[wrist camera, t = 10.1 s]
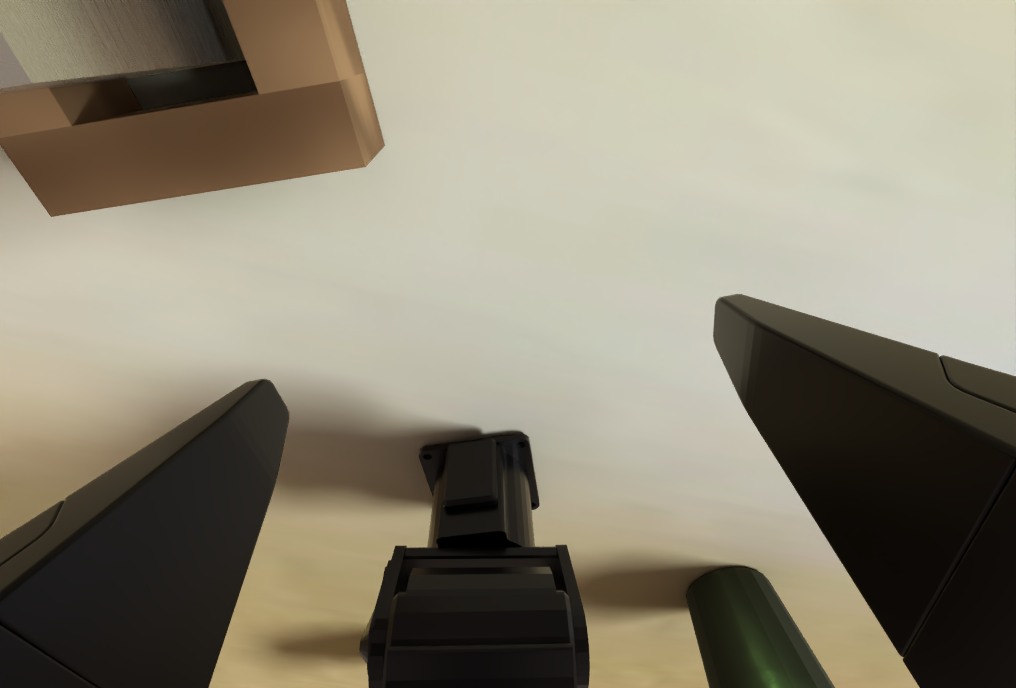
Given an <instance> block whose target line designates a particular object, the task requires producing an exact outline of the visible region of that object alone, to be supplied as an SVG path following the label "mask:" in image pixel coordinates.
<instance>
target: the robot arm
mask: <svg viewBox="0 0 1016 688" xmlns="http://www.w3.org/2000/svg"><path fill="white" fill-rule="evenodd" d="M713 337H714V343H715V346H716V348H717V351H718V353H719V355H720V357H721V359H722V361H723V363H724V366H725V368H726V370H727V372H728V374H729V376H730V378H731V381H732V383H733V385H734V387H735V389H736V391H737V394H738V396H739V398H740V400H741V402H742V404H743V406H744V408H745V410H746V411H747V413H748V415H749V416H750V418H751V420H752V421H753V423H754V424H755V426H756V428H757V429H758V431H759V432H760V434H761V436H762V437H763V439H764V440H765V442H766V443H767V445H768V447H769V448H770V450H771V451H772V453H773V455H774V456H775V458H776V459H777V461H778V463H779V464H780V466H781V467H782V469H783V470H784V472H785V474H786V475H787V477H788V478H789V480H790V482H791V483H792V485H793V486H794V488H795V490H796V491H797V493H798V494H799V496H800V497H801V499H802V501H803V502H804V504H805V505H806V507H807V509H808V510H809V512H810V513H811V515H812V517H813V518H814V520H815V521H816V523H817V524H818V526H819V528H820V529H821V531H822V532H823V534H824V536H825V537H826V539H827V540H828V542H829V544H830V545H831V547H832V548H833V550H834V551H835V553H836V555H837V556H838V558H839V559H840V561H841V563H842V564H843V566H844V567H845V569H846V571H847V572H848V574H849V575H850V577H851V578H852V580H853V582H854V583H855V585H856V586H857V588H858V590H859V591H860V593H861V594H862V596H863V598H864V599H865V601H866V602H867V604H868V605H869V607H870V609H871V610H872V612H873V613H874V615H875V617H876V618H877V620H878V621H879V623H880V625H881V626H882V628H883V629H884V631H885V632H886V634H887V636H888V637H889V639H890V640H891V642H892V644H893V645H894V647H895V648H896V650H897V652H898V653H899V655H900V656H902V657H904V658H903V662H904V663H905V665H906V667H907V668H908V670H909V671H910V673H911V674H912V676H913V678H914V679H915V681H916V682H917V684H918V686H919V687H920V688H1016V376H1012V375H1009V374H1006V373H1002V372H999V371H995V370H992V369H988V368H985V367H981V366H978V365H974V364H971V363H967V362H964V361H961V360H958V359H954V358H951V357H948V356H944V355H943V356H940V357H939V355H938V354H937V353H934V352H931V351H928V350H924V349H921V348H918V347H914V346H911V345H908V344H904V343H901V342H898V341H894V340H891V339H888V338H884V337H881V336H878V335H874V334H871V333H868V332H865V331H861V330H858V329H855V328H851V327H848V326H845V325H841V324H838V323H835V322H831V321H828V320H825V319H821V318H818V317H815V316H812V315H808V314H805V313H802V312H798V311H795V310H792V309H788V308H785V307H782V306H778V305H775V304H772V303H769V302H765V301H762V300H759V299H755V298H752V297H749V296H745V295H742V294H735V295H730V296H724V297H720V298H719V299H718V300H717V301H716V304H715V316H714V331H713ZM288 423H289V412H288V409H287V407H286V405H285V403H284V402H283V400H282V398H281V396H280V395H279V393H278V391H277V390H276V388H275V386H274V385H273V383H272V382H271V381H270V380H267V379H260V380H254V381H249V382H246V383H244V384H243V385H241V386H240V387H238V388H236V389H235V390H233V391H232V392H230V393H229V394H227V395H225V396H224V397H222V398H221V399H219V400H218V401H216V402H215V403H213V404H211V405H210V406H208V407H207V408H205V409H204V410H202V411H200V412H199V413H197V414H196V415H194V416H193V417H191V418H190V419H188V420H186V421H185V422H183V423H182V424H180V425H179V426H177V427H176V428H174V429H172V430H171V431H169V432H168V433H166V434H165V435H163V436H161V437H160V438H158V439H157V440H155V441H154V442H152V443H151V444H149V445H147V446H146V447H144V448H143V449H141V450H140V451H138V452H136V453H135V454H133V455H132V456H130V457H129V458H127V459H126V460H124V461H122V462H121V463H119V464H118V465H116V466H115V467H113V468H112V469H110V470H108V471H107V472H105V473H104V474H102V475H101V476H99V477H97V478H96V479H94V480H93V481H91V482H90V483H88V484H87V485H85V486H83V487H82V488H80V489H79V490H77V491H76V492H74V493H72V494H71V495H69V496H68V497H67V498H66V499H65V501H60V502H58V503H57V504H55V505H54V506H52V507H50V508H49V509H47V510H46V511H44V512H43V513H41V514H40V515H38V516H36V517H35V518H33V519H32V520H30V521H28V522H27V523H25V524H24V525H22V526H20V527H19V528H17V529H16V530H14V531H12V532H11V533H9V534H8V535H6V536H5V537H3V538H1V539H0V688H208V687H209V684H210V681H211V678H212V675H213V672H214V669H215V666H216V663H217V660H218V657H219V654H220V651H221V648H222V645H223V642H224V639H225V636H226V633H227V630H228V627H229V624H230V621H231V618H232V615H233V612H234V609H235V606H236V603H237V600H238V596H239V593H240V590H241V587H242V584H243V581H244V578H245V575H246V572H247V569H248V566H249V563H250V560H251V557H252V554H253V551H254V548H255V545H256V542H257V539H258V536H259V533H260V530H261V527H262V524H263V521H264V518H265V515H266V512H267V509H268V506H269V503H270V499H271V496H272V493H273V490H274V487H275V483H276V479H277V475H278V470H279V465H280V461H281V456H282V451H283V447H284V442H285V437H286V432H287V428H288ZM519 442H523V443H519ZM427 454H430V455H427ZM419 459H420V461H421V464H422V467H423V470H424V473H425V475H426V478H427V481H428V484H429V486H430V489H431V492H432V495H433V505H432V514H431V522H430V531H429V539H428V547H426V548H407V546H395V549H394V553H393V556H392V560H389V561H388V564H387V567H385V571H384V576H383V581H382V585H381V589H380V592H379V596H378V599H377V603H376V606H375V609H374V612H373V614H372V616H371V618H370V621H369V623H368V625H367V627H366V630H365V632H364V634H363V636H362V639H361V642H360V655H361V656H362V658H363V659H364V661H365V662H366V663H367V670H368V677H369V680H368V681H369V688H588V686H589V670H590V663H589V644H588V634H587V626H586V620H585V614H584V610H583V606H582V602H581V598H580V594H579V590H578V587H577V583H576V579H575V575H574V571H573V568H572V564H571V560H570V556H569V552H568V549H567V545H556V547H535V544H534V533H533V522H532V511H531V510H534V509H536V508H538V507H539V496H538V490H537V484H536V478H535V472H534V465H533V459H532V453H531V447H530V441H529V437H528V436H527V435H525V434H515V435H508V436H500V437H492V438H484V439H476V440H468V441H461V442H453V443H445V444H437V445H429V446H424V447H422V448H421V449H420V453H419Z"/></svg>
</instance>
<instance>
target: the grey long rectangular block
mask: <svg viewBox="0 0 1016 688" xmlns="http://www.w3.org/2000/svg"><path fill="white" fill-rule="evenodd" d="M242 60H246V59H245V57H244V54H243V52H242V49H241V47H240V44H239V41H238V39H237V36H236V34H235V31H234V29H233V26H232V23H231V21H230V18H229V16H228V13H227V11H226V8H225V6H224V3H223V0H0V94H8V93H16V92H24V91H32V90H39V89H47V88H55V87H63V86H71V85H78V84H86V83H94V82H102V81H110V80H117V79H125V78H133V77H141V76H149V75H156V74H162V73H168V72H174V71H180V70H187V69H193V68H199V67H205V66H211V65H217V64H224V63H230V62H236V61H242Z"/></svg>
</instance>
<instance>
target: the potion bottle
mask: <svg viewBox="0 0 1016 688" xmlns="http://www.w3.org/2000/svg"><path fill="white" fill-rule="evenodd" d="M686 597H687V603H688V607H689V611H690V615H691V619H692V623H693V626H694V630H695V634H696V638H697V642H698V646H699V649H700V653H701V657H702V661H703V665H704V669H705V672H706V676H707V680H708V684H709V688H835V687H834V685H833V684H832V682H831V680H830V679H829V677H828V676H827V674H826V672H825V671H824V669H823V668H822V666H821V664H820V663H819V661H818V659H817V658H816V656H815V655H814V653H813V651H812V650H811V648H810V646H809V645H808V643H807V642H806V640H805V638H804V637H803V635H802V633H801V632H800V630H799V629H798V627H797V625H796V624H795V622H794V621H793V619H792V617H791V616H790V614H789V612H788V611H787V609H786V608H785V606H784V604H783V603H782V601H781V599H780V598H779V596H778V595H777V593H776V591H775V590H774V588H773V586H772V585H771V583H770V582H769V580H768V579H767V578H766V577H765V576H764V575H763V574H762V573H760V572H758V571H755V570H752V569H749V568H743V567H731V568H725V569H720V570H716V571H713V572H711V573H708V574H706V575H704V576H702V577H701V578H699V579H698V580H697V581H695V582H694V583H693V584H692V586H691V587H690V589H689V591H688V593H687V595H686Z"/></svg>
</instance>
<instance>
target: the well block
mask: <svg viewBox="0 0 1016 688" xmlns="http://www.w3.org/2000/svg"><path fill="white" fill-rule="evenodd" d="M223 3H224V6H225V8H226V11H227V13H228V16H229V18H230V21H231V23H232V26H233V29H234V31H235V34H236V36H237V39H238V41H239V44H240V47H241V49H242V52H243V54H244V57H245V59H246V62H247V64H248V67H249V70H250V72H251V75H252V77H253V80H254V82H255V85H256V87H257V90H258V91H252V92H246V93H240V94H234V95H228V96H222V97H217V98H211V99H205V100H199V101H193V102H187V103H181V104H175V105H169V106H163V107H157V108H151V109H145V110H141V108H140V106H139V104H138V102H137V100H136V98H135V96H134V94H133V92H132V91H131V89H130V87H129V85H128V83H127V81H126V79H117V80H110V81H102V82H94V83H86V84H78V85H71V86H63V87H55V88H47V89H39V90H32V91H24V92H16V93H8V94H0V145H1V147H2V148H3V149H4V151H5V152H6V154H7V155H8V156H9V158H10V159H11V161H12V162H13V164H14V165H15V166H16V168H17V169H18V171H19V172H20V174H21V175H22V176H23V178H24V179H25V181H26V182H27V183H28V185H29V186H30V188H31V189H32V191H33V192H34V193H35V195H36V196H37V198H38V199H39V200H40V202H41V203H42V205H43V206H44V208H45V209H46V210H47V212H48V213H49V215H50V216H51V217H53V216H59V215H65V214H72V213H78V212H84V211H90V210H97V209H103V208H109V207H116V206H122V205H128V204H135V203H141V202H147V201H154V200H160V199H166V198H172V197H179V196H185V195H191V194H198V193H204V192H210V191H217V190H223V189H229V188H235V187H242V186H248V185H254V184H261V183H267V182H273V181H280V180H286V179H292V178H299V177H305V176H311V175H317V174H324V173H330V172H336V171H343V170H349V169H355V168H362V167H366V166H367V165H368V164H369V162H370V161H371V160H372V159H373V158H374V157H375V156H376V155H377V154H378V152H379V151H380V150H381V149H382V148H383V147H384V146H385V144H384V140H383V137H382V133H381V129H380V125H379V122H378V118H377V114H376V111H375V107H374V103H373V100H372V96H371V92H370V89H369V85H368V81H367V78H366V74H365V70H364V67H363V63H362V59H361V55H360V52H359V48H358V44H357V41H356V37H355V33H354V30H353V26H352V22H351V19H350V15H349V11H348V8H347V4H346V0H223Z"/></svg>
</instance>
